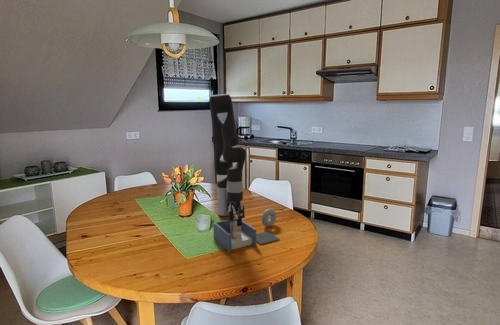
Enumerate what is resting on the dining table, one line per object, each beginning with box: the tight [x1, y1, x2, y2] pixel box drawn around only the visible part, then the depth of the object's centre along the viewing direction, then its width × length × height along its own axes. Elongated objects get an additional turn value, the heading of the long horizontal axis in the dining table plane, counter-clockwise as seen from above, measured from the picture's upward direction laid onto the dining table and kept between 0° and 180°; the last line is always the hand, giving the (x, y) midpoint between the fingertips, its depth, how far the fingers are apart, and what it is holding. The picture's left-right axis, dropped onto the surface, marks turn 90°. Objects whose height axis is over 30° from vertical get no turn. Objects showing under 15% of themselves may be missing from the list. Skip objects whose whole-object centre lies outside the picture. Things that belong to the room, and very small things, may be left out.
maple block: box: [230, 221, 241, 239], centre depth 150 cm, size 4×4×7 cm
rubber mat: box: [256, 231, 281, 246], centre depth 156 cm, size 11×11×1 cm
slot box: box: [212, 217, 257, 253], centre depth 152 cm, size 18×14×8 cm
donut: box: [261, 208, 277, 228], centre depth 171 cm, size 10×4×10 cm, turn 133°
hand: (235, 223), depth 149 cm, fingers open, 8 cm apart
